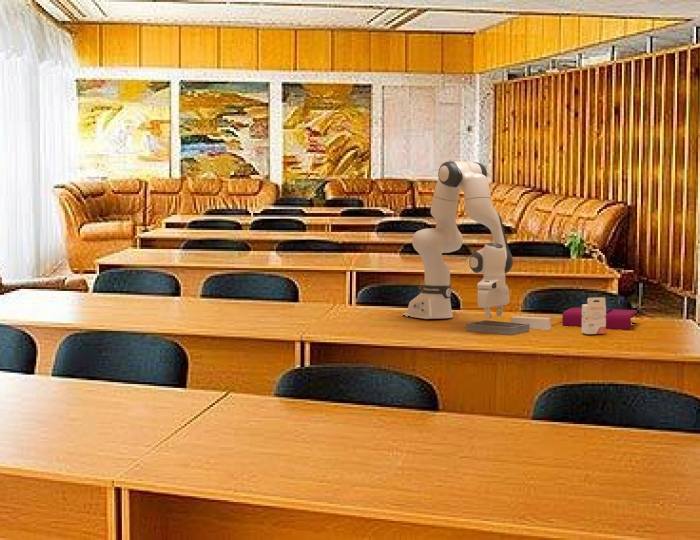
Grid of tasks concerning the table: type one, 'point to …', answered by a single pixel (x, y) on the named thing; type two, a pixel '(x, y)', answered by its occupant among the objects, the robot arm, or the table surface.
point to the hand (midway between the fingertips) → (493, 317)
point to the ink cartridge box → (594, 316)
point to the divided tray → (497, 327)
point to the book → (613, 318)
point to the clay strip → (533, 322)
